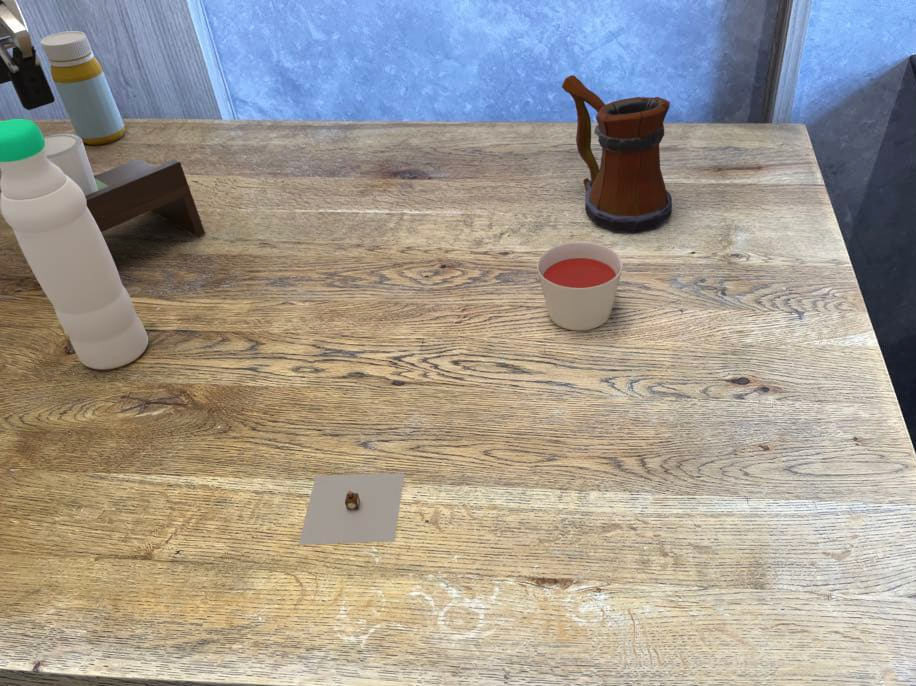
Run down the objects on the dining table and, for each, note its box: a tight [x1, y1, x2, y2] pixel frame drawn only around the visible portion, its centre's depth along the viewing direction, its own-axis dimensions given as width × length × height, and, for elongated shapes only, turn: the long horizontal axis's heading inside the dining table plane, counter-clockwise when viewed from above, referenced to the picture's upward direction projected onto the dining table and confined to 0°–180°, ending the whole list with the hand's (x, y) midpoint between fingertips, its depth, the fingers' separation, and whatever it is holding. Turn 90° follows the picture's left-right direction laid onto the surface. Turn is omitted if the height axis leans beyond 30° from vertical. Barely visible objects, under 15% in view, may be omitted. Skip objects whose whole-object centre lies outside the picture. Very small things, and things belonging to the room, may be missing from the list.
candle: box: [536, 241, 623, 331], centre depth 88 cm, size 9×9×6 cm
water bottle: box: [0, 118, 149, 371], centre depth 79 cm, size 7×7×25 cm
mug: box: [561, 74, 673, 233], centre depth 103 cm, size 18×12×15 cm, turn 38°
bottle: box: [40, 30, 126, 146], centre depth 124 cm, size 7×7×15 cm
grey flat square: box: [298, 472, 405, 546], centre depth 70 cm, size 8×8×2 cm
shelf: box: [85, 158, 206, 238], centre depth 101 cm, size 12×16×10 cm
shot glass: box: [43, 133, 98, 196], centre depth 96 cm, size 7×7×7 cm
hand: (19, 94), depth 90 cm, fingers open, 9 cm apart
